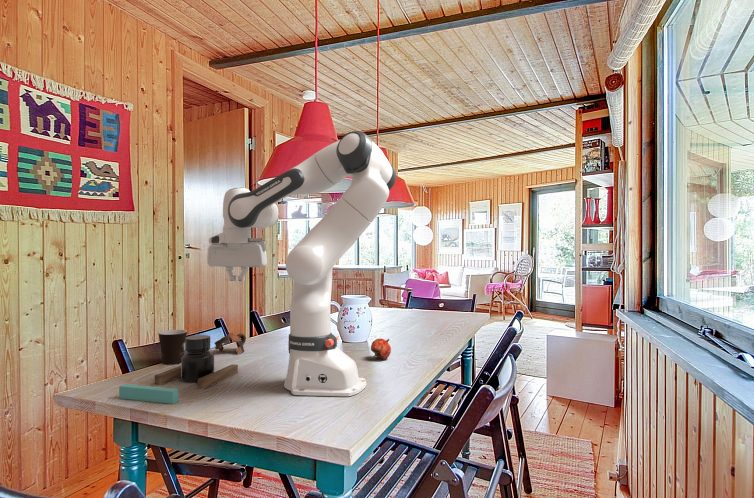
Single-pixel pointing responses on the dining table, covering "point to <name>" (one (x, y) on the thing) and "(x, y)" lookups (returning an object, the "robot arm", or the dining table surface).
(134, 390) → the bar
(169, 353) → the coffee mug
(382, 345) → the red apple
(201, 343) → the ink bottle
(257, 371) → the dining table surface
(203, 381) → the lane
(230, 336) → the brown animal figurine
